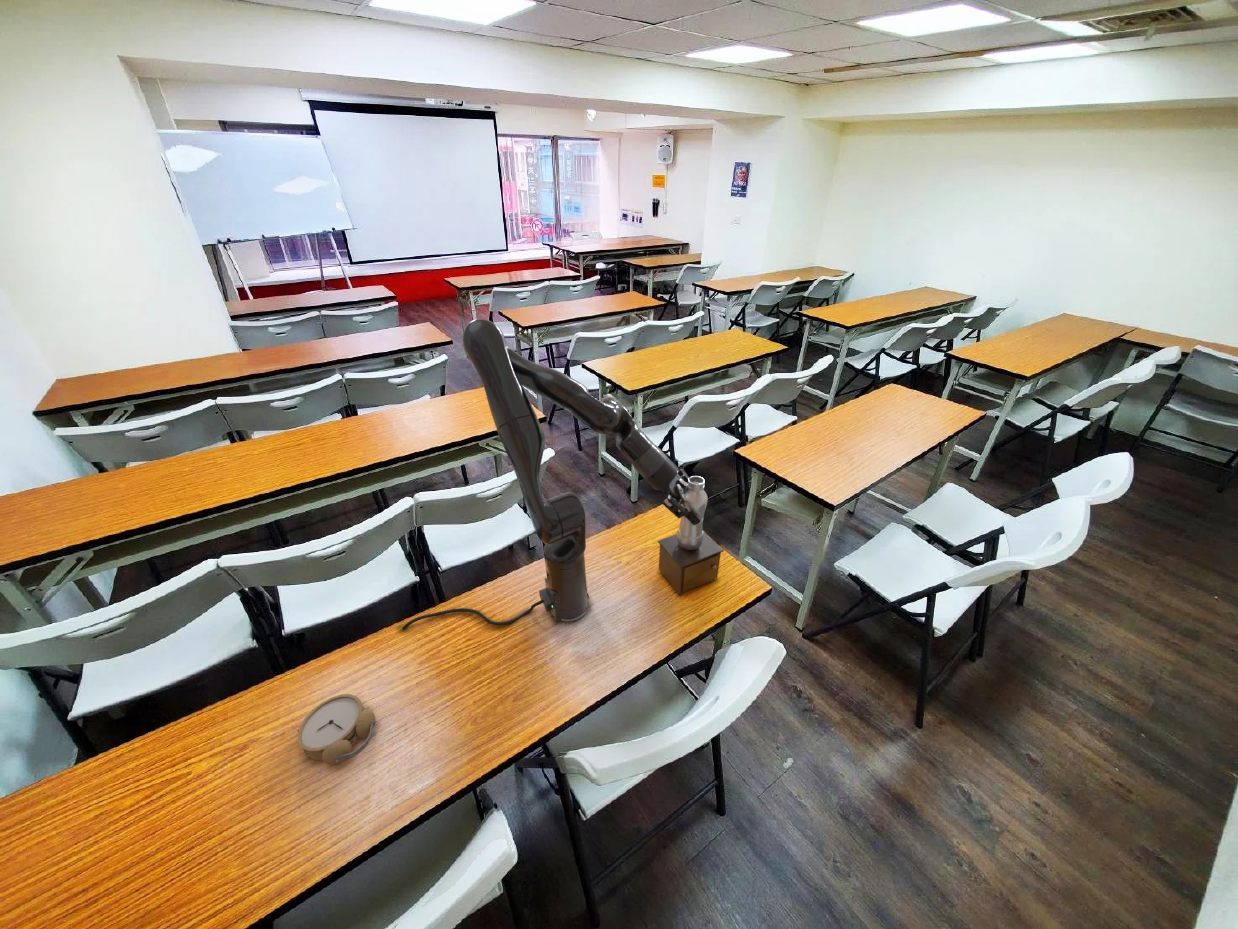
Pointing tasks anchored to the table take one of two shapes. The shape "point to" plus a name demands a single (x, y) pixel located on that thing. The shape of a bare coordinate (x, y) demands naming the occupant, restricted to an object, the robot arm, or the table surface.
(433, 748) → the table surface
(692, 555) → the cabinet
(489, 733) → the table surface
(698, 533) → the silver metal bottle
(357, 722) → the alarm clock
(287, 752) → the table surface
